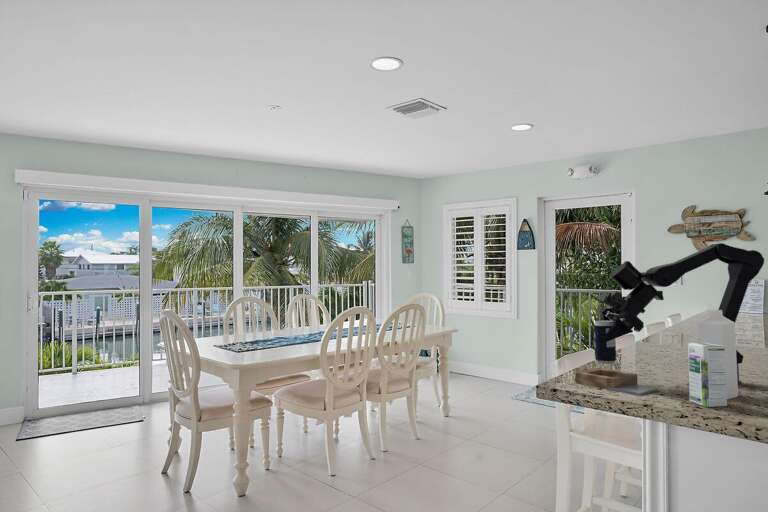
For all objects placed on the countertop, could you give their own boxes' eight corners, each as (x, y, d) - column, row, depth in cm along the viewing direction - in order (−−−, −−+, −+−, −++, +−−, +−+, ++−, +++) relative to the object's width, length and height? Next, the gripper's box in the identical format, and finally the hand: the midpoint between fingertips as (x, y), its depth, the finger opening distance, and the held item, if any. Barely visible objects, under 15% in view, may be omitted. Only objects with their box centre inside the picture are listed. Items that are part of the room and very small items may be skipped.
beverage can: (612, 360, 149) (610, 320, 149) (619, 364, 143) (617, 321, 144) (592, 360, 149) (590, 320, 150) (598, 364, 144) (597, 322, 144)
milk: (738, 396, 128) (735, 310, 129) (725, 400, 125) (722, 311, 126) (713, 392, 134) (710, 309, 135) (700, 395, 131) (697, 310, 132)
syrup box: (688, 401, 124) (686, 342, 125) (711, 400, 125) (708, 342, 125) (705, 407, 119) (702, 345, 119) (728, 406, 119) (726, 345, 120)
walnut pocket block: (637, 384, 144) (637, 373, 145) (613, 390, 138) (613, 379, 138) (599, 377, 154) (599, 368, 154) (575, 382, 148) (575, 372, 148)
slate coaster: (657, 390, 136) (657, 388, 136) (639, 395, 131) (639, 393, 131) (625, 385, 144) (625, 383, 144) (607, 389, 139) (607, 387, 139)
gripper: (603, 281, 156) (568, 318, 156) (630, 282, 138) (591, 323, 138) (630, 306, 156) (595, 342, 156) (660, 310, 137) (621, 351, 137)
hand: (600, 339), depth 147 cm, fingers closed on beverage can, 6 cm apart
